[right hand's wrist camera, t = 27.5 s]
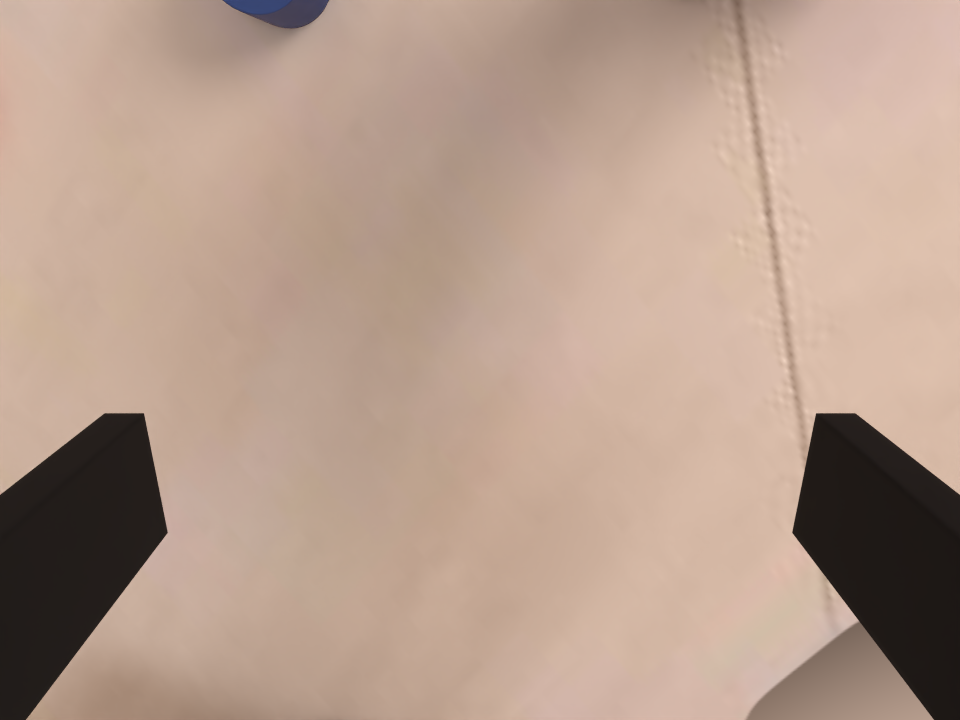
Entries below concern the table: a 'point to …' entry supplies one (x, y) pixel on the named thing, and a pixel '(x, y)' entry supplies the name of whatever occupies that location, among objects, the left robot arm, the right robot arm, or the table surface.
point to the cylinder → (281, 11)
